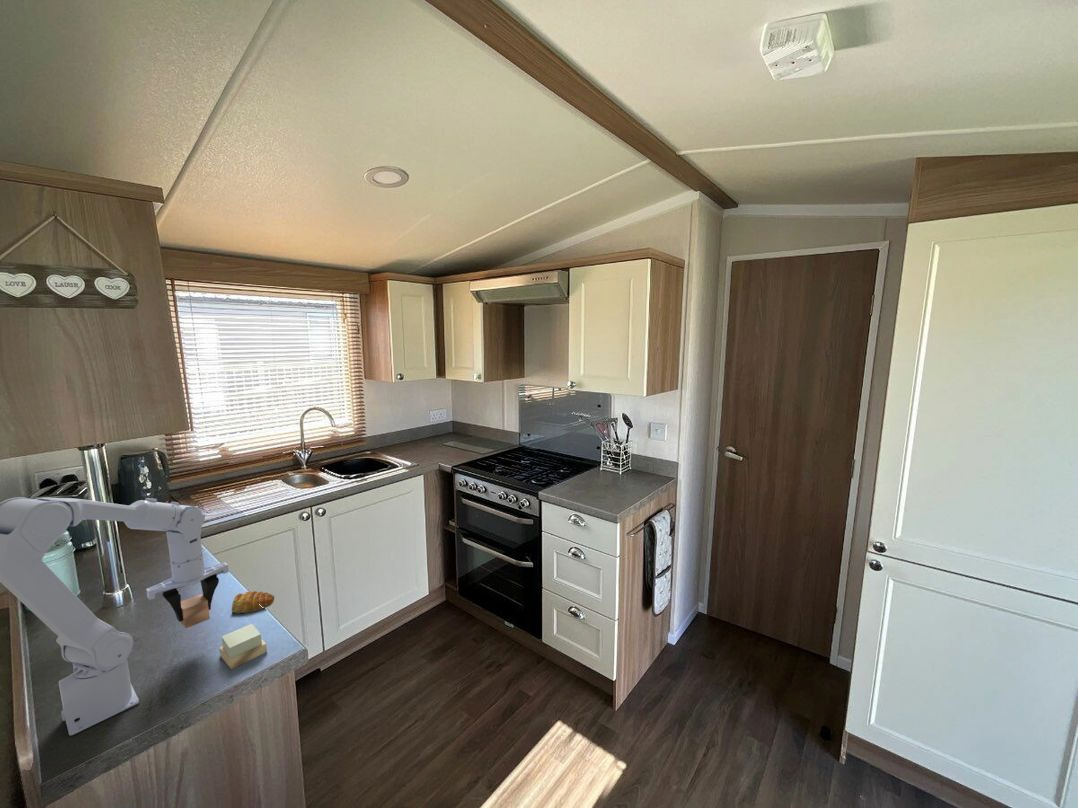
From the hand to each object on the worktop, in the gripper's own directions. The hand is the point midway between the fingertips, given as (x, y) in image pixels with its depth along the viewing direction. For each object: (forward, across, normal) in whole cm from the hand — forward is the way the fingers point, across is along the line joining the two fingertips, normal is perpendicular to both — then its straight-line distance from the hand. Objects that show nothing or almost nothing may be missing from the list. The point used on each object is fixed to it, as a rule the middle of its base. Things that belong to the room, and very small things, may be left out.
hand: (194, 614), depth 102 cm
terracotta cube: (+2, 0, 0) cm, 2 cm away
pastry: (+9, +14, +9) cm, 19 cm away
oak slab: (+9, +6, -11) cm, 15 cm away
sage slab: (+6, +6, -11) cm, 14 cm away
